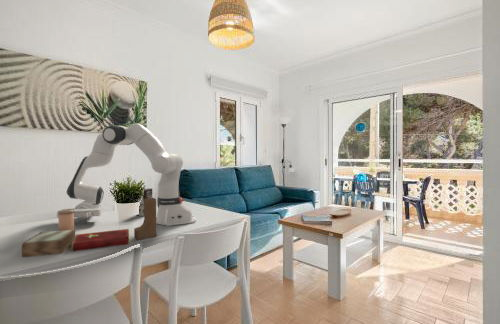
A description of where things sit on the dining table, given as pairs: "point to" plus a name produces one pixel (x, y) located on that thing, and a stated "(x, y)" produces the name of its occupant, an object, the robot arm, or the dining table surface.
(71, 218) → the terracotta jar
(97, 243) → the hardcover book
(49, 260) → the dining table surface
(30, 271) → the dining table surface
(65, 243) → the walnut pedestal
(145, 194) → the coffee box
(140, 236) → the wooden block
